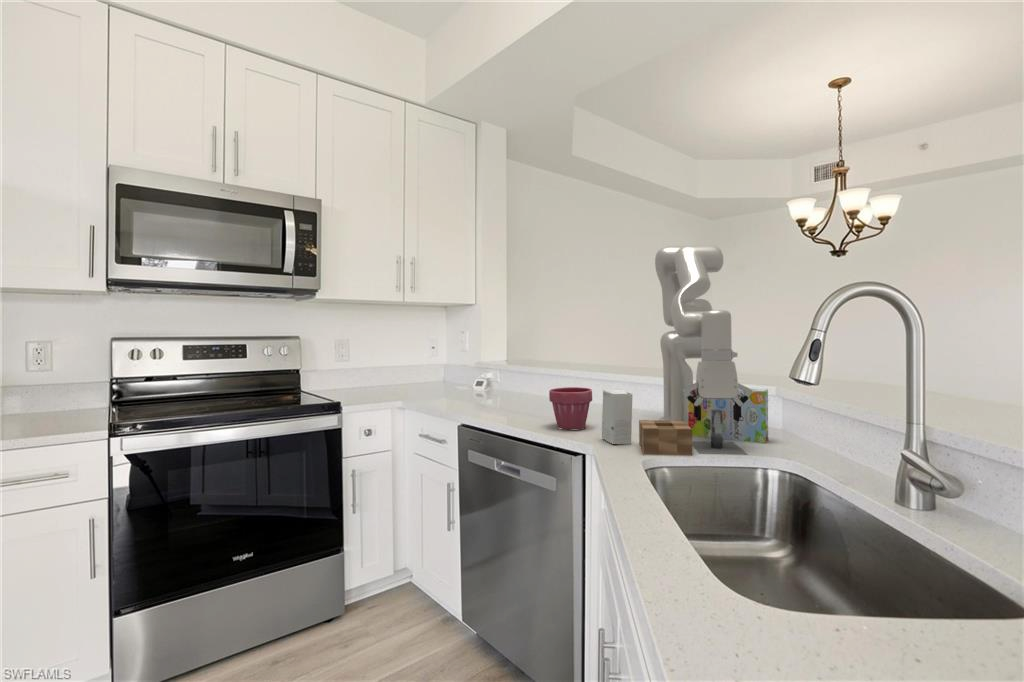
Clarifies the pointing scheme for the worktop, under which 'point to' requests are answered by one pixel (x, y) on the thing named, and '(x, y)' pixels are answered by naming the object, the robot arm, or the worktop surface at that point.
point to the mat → (728, 448)
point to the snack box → (745, 429)
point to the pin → (716, 429)
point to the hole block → (665, 437)
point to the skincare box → (617, 416)
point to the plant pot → (571, 406)
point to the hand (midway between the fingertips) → (717, 420)
